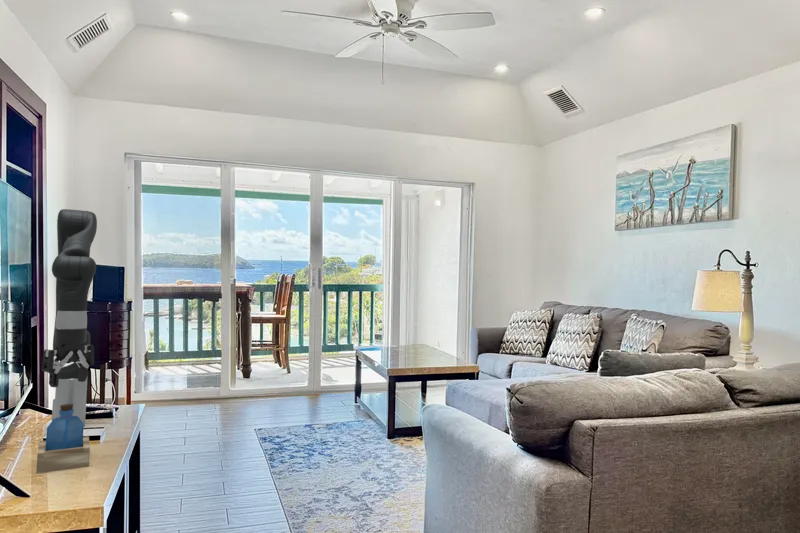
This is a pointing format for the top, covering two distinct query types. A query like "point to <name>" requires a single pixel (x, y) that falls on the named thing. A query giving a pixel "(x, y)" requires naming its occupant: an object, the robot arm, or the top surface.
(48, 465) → the square tray
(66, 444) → the perfume bottle
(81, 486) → the top surface
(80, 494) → the top surface
